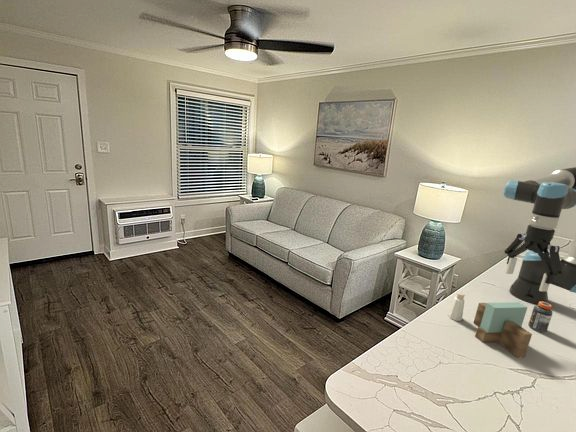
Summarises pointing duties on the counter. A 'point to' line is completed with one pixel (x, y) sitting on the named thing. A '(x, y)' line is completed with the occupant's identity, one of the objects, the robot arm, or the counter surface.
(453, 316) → the pepper shaker
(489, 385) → the counter surface
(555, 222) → the robot arm
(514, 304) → the teal block
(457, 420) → the counter surface
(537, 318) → the pill bottle
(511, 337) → the walnut joint base
